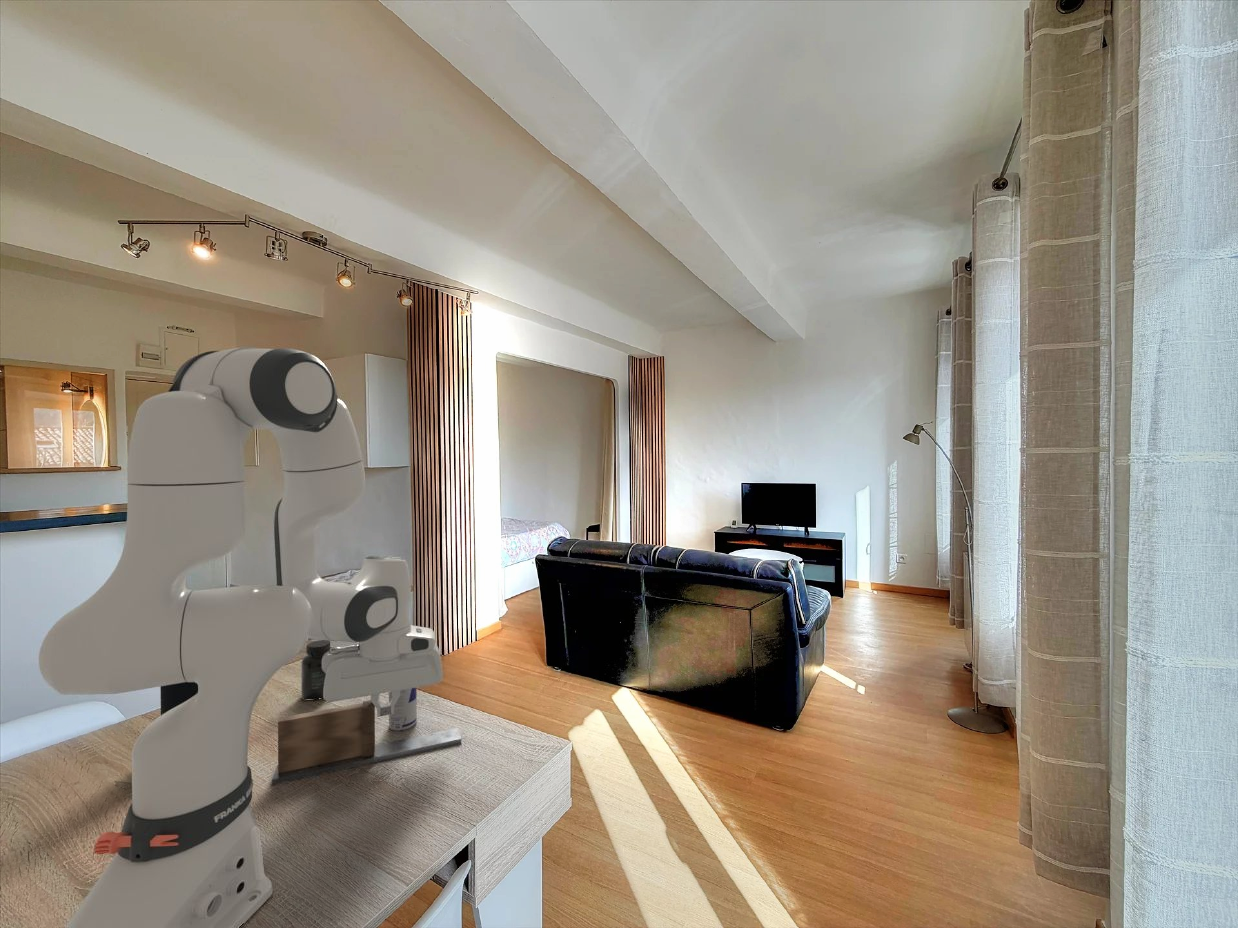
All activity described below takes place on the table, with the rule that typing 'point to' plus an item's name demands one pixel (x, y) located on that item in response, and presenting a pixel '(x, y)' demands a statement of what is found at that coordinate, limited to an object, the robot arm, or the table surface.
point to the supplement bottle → (313, 670)
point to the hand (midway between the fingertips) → (385, 713)
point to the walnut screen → (326, 736)
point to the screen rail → (377, 754)
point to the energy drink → (404, 710)
